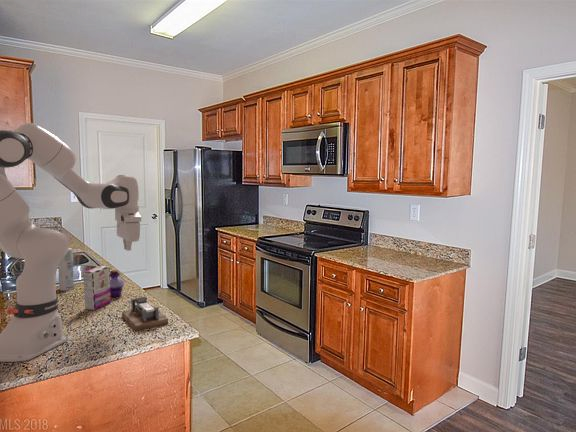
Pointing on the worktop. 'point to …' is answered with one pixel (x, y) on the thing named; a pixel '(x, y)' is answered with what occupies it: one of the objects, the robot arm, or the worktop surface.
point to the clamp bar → (144, 304)
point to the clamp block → (144, 311)
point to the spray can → (66, 271)
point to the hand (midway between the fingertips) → (127, 249)
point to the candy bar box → (97, 287)
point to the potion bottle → (116, 284)
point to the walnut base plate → (137, 320)
